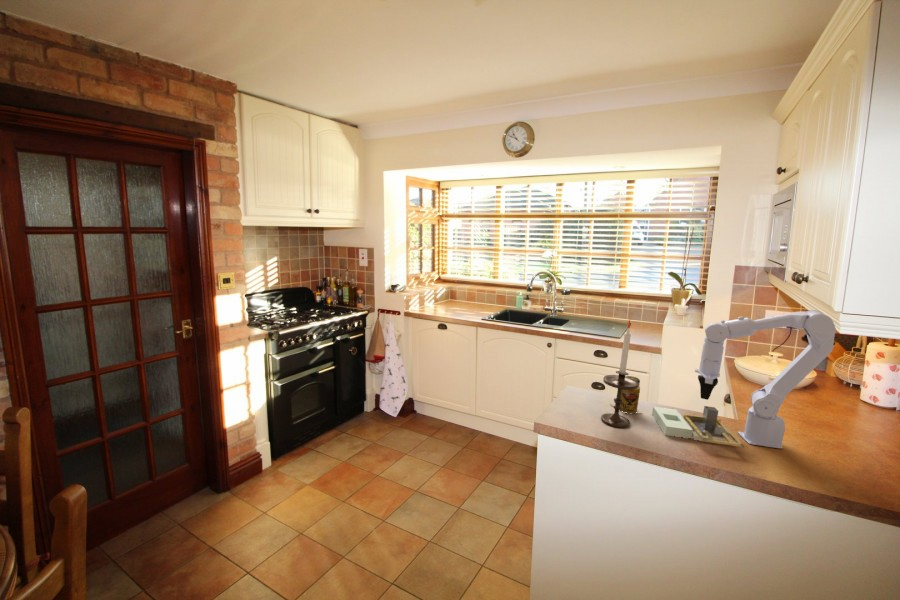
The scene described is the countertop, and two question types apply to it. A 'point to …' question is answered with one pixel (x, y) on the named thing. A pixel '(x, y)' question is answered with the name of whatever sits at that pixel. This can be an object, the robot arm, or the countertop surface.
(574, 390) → the countertop surface
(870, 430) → the countertop surface
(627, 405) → the condiment
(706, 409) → the peg
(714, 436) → the socket block
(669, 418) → the square cutout plate
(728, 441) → the gold rectangular frame
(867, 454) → the countertop surface
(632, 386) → the candlestick
